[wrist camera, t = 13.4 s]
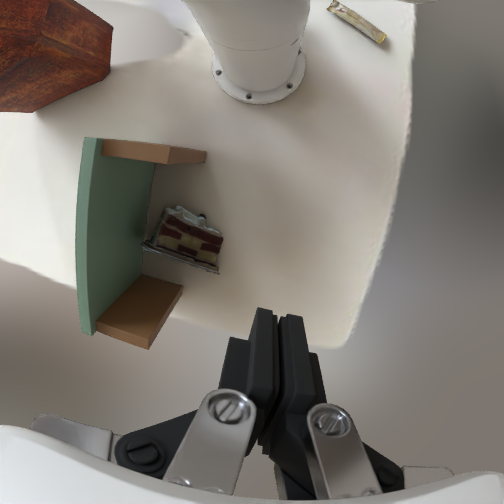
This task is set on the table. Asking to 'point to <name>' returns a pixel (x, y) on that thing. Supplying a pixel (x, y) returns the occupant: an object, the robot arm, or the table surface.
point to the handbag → (49, 52)
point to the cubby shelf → (120, 239)
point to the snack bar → (357, 21)
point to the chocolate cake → (185, 239)
